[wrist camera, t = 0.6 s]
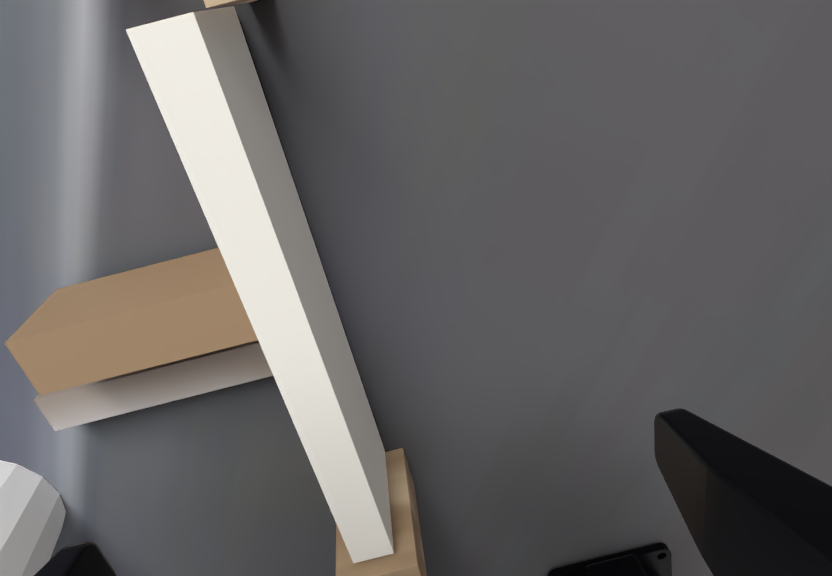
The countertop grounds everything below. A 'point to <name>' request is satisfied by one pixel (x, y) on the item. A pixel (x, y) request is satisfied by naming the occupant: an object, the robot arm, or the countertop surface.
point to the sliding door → (228, 277)
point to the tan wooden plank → (221, 370)
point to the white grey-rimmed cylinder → (27, 520)
